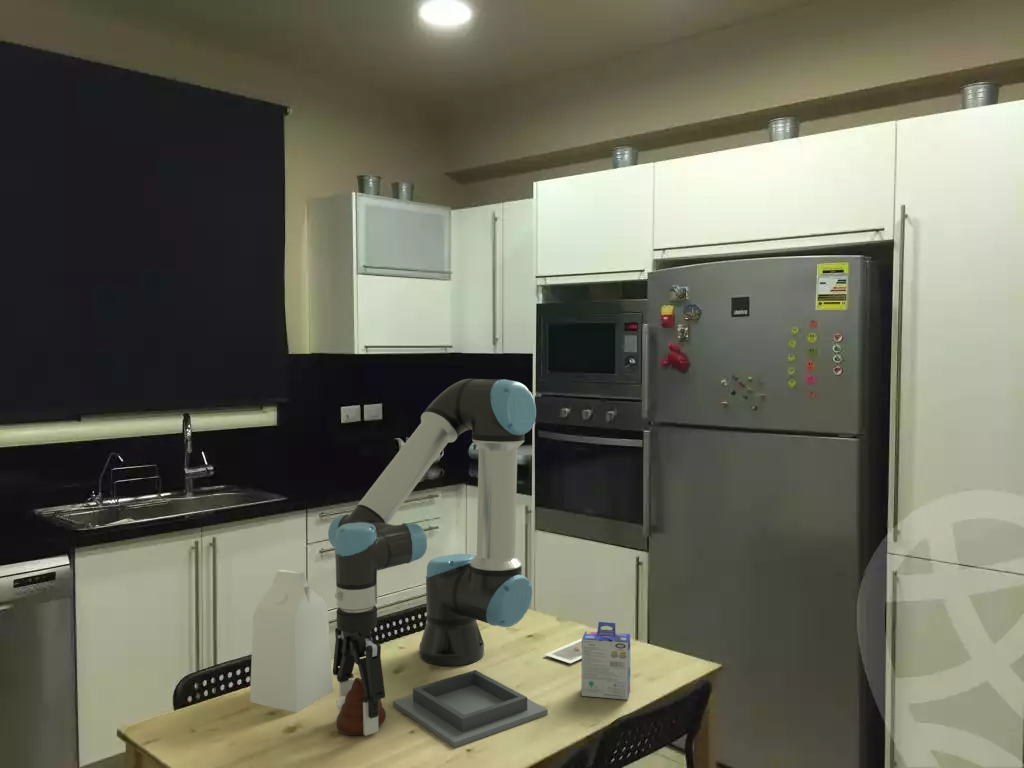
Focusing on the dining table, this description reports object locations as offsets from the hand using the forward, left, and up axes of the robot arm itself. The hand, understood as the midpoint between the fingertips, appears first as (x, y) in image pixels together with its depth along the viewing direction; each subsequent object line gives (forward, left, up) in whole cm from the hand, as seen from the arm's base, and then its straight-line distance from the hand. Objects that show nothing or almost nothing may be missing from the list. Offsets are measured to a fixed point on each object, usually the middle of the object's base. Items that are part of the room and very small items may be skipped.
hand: (358, 723), depth 157 cm
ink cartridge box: (+18, +48, -1) cm, 51 cm away
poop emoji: (0, 0, -1) cm, 1 cm away
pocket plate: (+7, +21, -1) cm, 22 cm away
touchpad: (-3, +59, -1) cm, 59 cm away
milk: (-21, -4, -1) cm, 21 cm away
